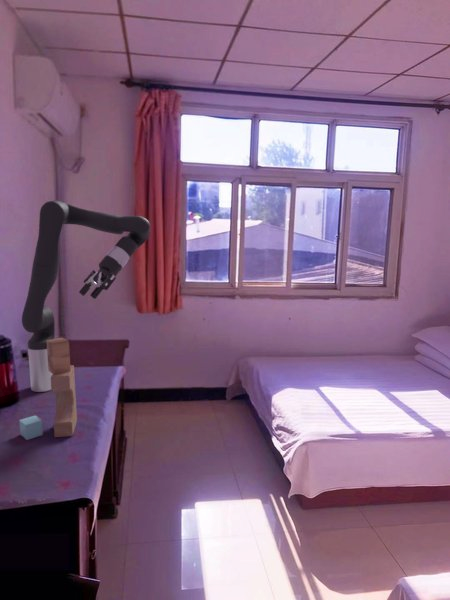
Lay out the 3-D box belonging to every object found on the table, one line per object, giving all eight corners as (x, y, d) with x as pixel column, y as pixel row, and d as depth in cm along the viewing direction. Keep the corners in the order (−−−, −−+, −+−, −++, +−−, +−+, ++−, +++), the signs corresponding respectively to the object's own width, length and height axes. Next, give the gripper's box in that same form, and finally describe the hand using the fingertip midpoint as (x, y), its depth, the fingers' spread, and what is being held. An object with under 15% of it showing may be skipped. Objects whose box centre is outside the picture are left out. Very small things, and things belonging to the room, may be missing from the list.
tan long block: (48, 370, 140) (46, 340, 138) (63, 367, 143) (62, 337, 142) (54, 374, 136) (53, 343, 135) (70, 371, 140) (68, 340, 138)
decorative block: (72, 436, 139) (69, 376, 135) (53, 438, 138) (49, 377, 135) (77, 421, 150) (74, 364, 146) (60, 422, 149) (56, 365, 145)
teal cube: (20, 434, 140) (19, 420, 139) (36, 429, 144) (35, 415, 143) (26, 440, 137) (25, 425, 136) (42, 435, 140) (41, 420, 139)
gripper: (98, 253, 165) (70, 286, 159) (117, 255, 155) (88, 291, 149) (111, 266, 170) (84, 299, 164) (131, 269, 160) (103, 305, 154)
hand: (86, 295), depth 157 cm, fingers open, 8 cm apart
